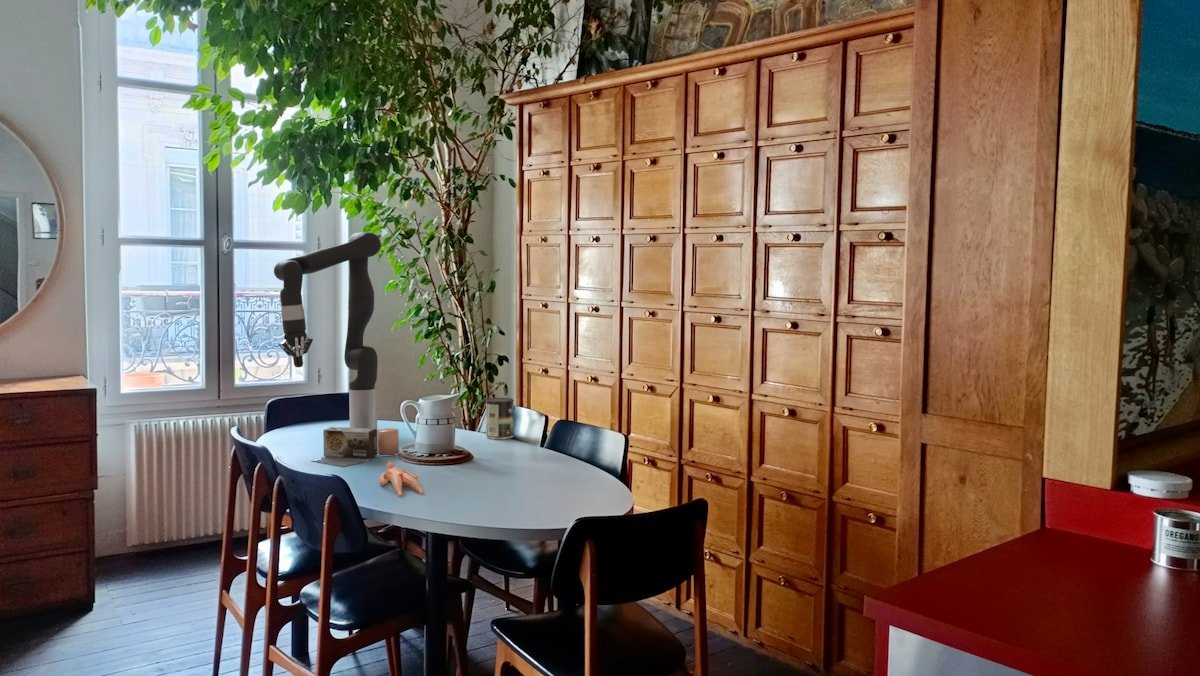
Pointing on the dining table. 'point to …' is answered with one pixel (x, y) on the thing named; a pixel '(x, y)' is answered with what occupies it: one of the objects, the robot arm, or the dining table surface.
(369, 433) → the coffee box
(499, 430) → the coffee can
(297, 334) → the robot arm
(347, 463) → the mat
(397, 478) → the male figurine
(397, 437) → the peach rounded block
